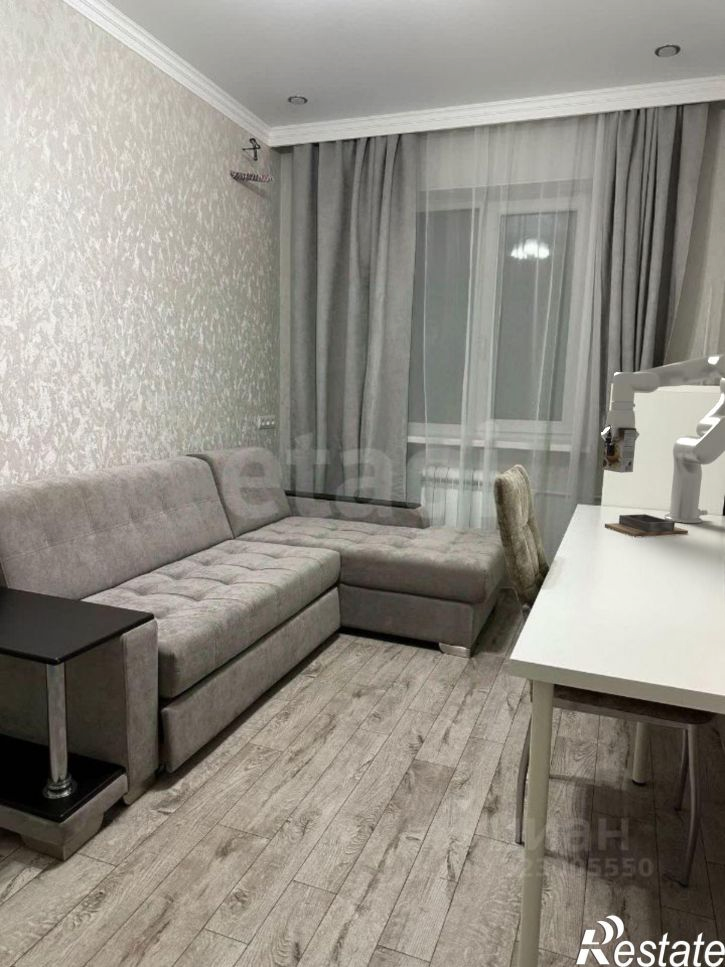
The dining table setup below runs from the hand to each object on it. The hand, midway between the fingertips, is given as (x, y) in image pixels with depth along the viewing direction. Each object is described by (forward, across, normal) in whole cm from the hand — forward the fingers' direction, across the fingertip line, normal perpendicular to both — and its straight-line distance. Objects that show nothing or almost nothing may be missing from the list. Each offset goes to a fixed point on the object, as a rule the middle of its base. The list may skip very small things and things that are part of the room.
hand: (618, 455), depth 239 cm
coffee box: (+6, 0, 0) cm, 6 cm away
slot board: (+24, +2, +18) cm, 30 cm away
